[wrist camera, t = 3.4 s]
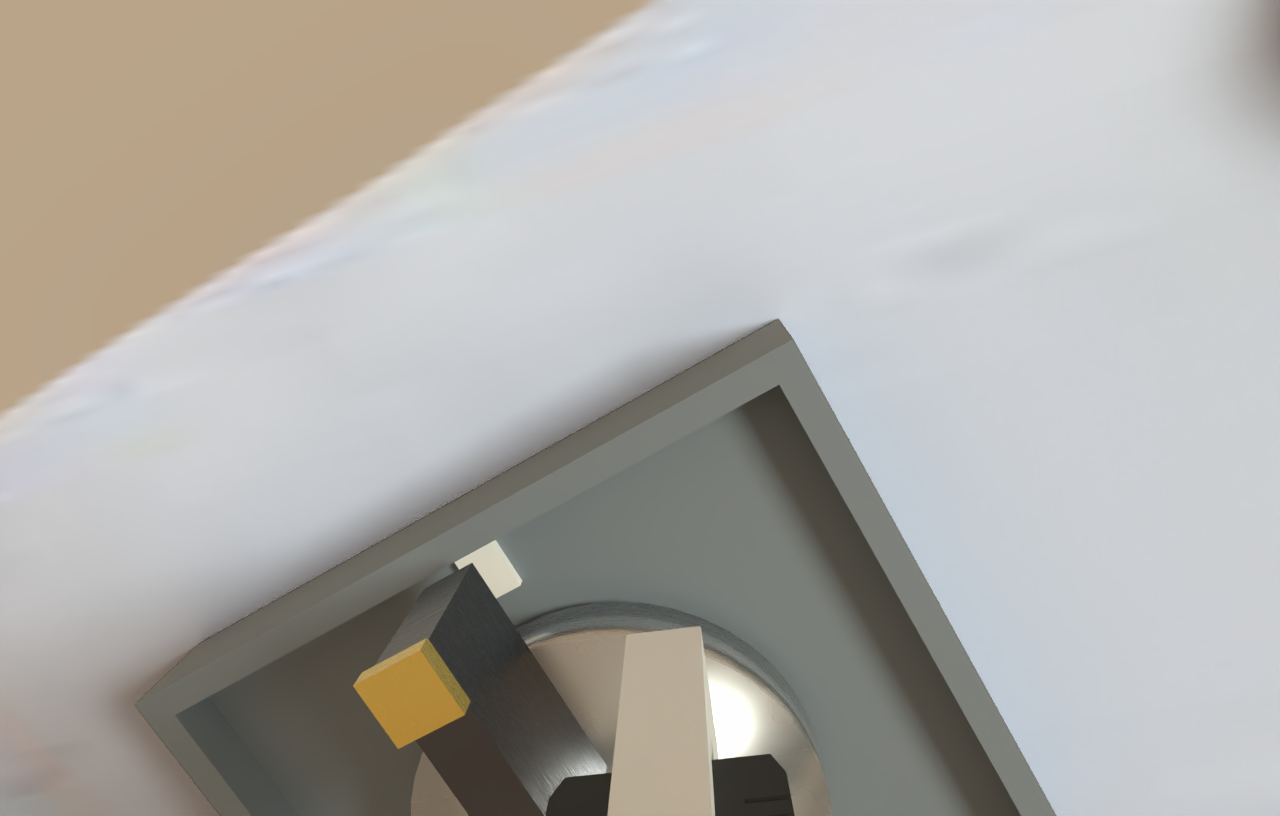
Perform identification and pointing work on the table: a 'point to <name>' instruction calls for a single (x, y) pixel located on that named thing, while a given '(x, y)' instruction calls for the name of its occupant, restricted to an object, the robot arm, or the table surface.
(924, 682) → the grey tray
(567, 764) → the dial
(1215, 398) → the table surface
